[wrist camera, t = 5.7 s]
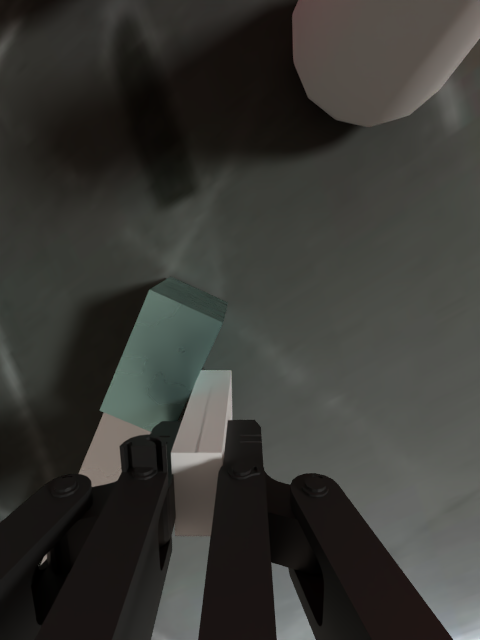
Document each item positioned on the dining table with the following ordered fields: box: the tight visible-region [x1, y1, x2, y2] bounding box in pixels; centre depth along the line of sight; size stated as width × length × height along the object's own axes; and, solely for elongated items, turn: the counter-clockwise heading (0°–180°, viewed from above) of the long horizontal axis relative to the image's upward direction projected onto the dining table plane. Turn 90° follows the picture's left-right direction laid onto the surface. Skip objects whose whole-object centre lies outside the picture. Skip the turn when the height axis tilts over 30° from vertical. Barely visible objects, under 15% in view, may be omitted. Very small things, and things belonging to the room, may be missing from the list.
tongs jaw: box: [41, 277, 228, 564], centre depth 18 cm, size 22×4×4 cm, turn 155°
